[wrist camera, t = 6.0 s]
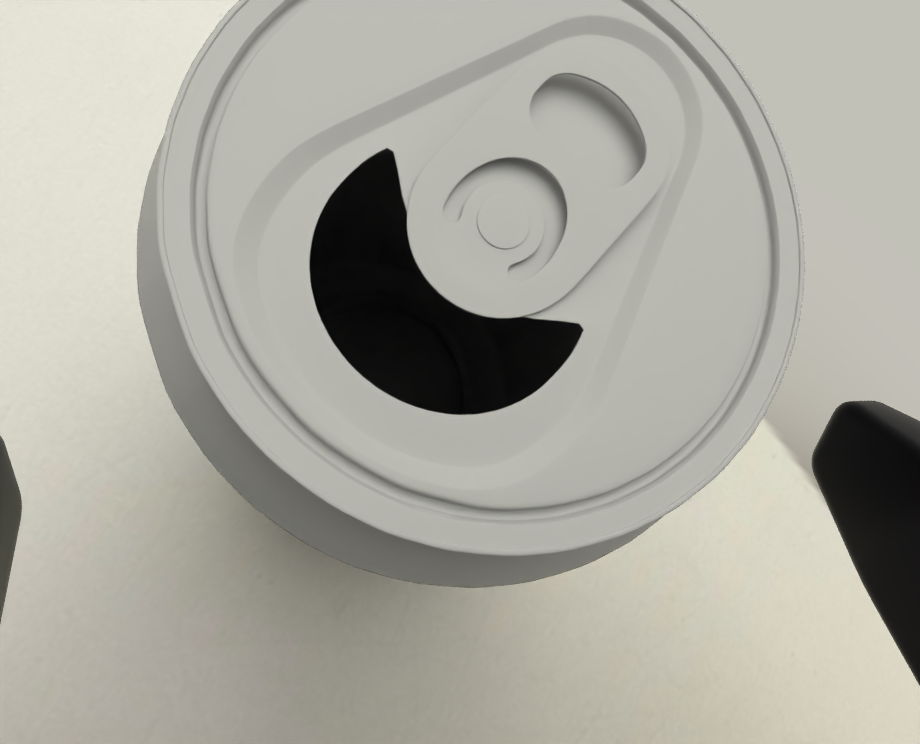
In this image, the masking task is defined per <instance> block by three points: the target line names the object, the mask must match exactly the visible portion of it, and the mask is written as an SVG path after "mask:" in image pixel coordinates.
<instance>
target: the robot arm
mask: <svg viewBox="0 0 920 744" xmlns="http://www.w3.org/2000/svg"><path fill="white" fill-rule="evenodd" d="M812 469H813V473H814V476H815V478H816V480H817V482H818V485H819V487H820V489H821V492H822V494H823V496H824V498H825V501H826V503H827V505H828V507H829V510H830V512H831V514H832V516H833V519H834V521H835V523H836V525H837V528H838V530H839V532H840V534H841V537H842V539H843V541H844V543H845V546H846V548H847V550H848V552H849V555H850V557H851V559H852V561H853V564H854V566H855V568H856V570H857V572H858V574H859V576H860V579H861V581H862V583H863V585H864V587H865V589H866V590H867V592H868V594H869V596H870V598H871V600H872V602H873V604H874V605H875V607H876V609H877V611H878V612H879V614H880V616H881V618H882V620H883V621H884V623H885V625H886V627H887V628H888V630H889V632H890V634H891V636H892V637H893V639H894V641H895V643H896V644H897V646H898V648H899V650H900V652H901V653H902V655H903V657H904V659H905V660H906V662H907V664H908V666H909V668H910V669H911V671H912V673H913V675H914V676H915V678H916V680H917V682H918V684H919V685H920V421H918V420H916V419H914V418H912V417H910V416H908V415H906V414H904V413H902V412H899V411H897V410H895V409H893V408H891V407H889V406H887V405H885V404H883V403H880V402H876V401H851V402H850V401H849V402H845V403H842V404H841V405H840V406H839V407H837V408H836V410H835V411H834V413H833V415H832V416H831V418H830V421H829V422H828V424H827V426H826V428H825V430H824V432H823V434H822V436H821V438H820V440H819V442H818V443H817V445H816V447H815V449H814V452H813V455H812ZM21 512H22V501H21V494H20V490H19V487H18V484H17V481H16V478H15V475H14V471H13V468H12V465H11V462H10V459H9V456H8V452H7V449H6V446H5V443H4V441H3V439H2V438H1V436H0V622H1V617H2V612H3V607H4V602H5V597H6V592H7V587H8V581H9V576H10V571H11V566H12V561H13V556H14V551H15V546H16V541H17V536H18V531H19V526H20V521H21Z"/></svg>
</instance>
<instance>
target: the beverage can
mask: <svg viewBox="0 0 920 744" xmlns="http://www.w3.org/2000/svg"><path fill="white" fill-rule="evenodd" d="M804 272H805V262H804V240H803V230H802V220H801V214H800V209H799V204H798V198H797V193H796V189H795V185H794V182H793V178H792V174H791V170H790V167H789V164H788V161H787V159H786V155H785V153H784V150H783V147H782V144H781V142H780V139H779V137H778V135H777V133H776V130H775V128H774V126H773V123H772V121H771V119H770V117H769V115H768V113H767V111H766V109H765V108H764V105H763V103H762V101H761V99H760V98H759V96H758V94H757V93H756V91H755V89H754V88H753V86H752V84H751V83H750V81H749V80H748V78H747V77H746V76H745V74H744V73H743V71H742V70H741V68H740V67H739V65H738V64H737V62H736V61H735V60H734V58H733V57H732V56H731V54H730V53H729V52H728V51H727V49H726V48H725V47H724V46H723V45H722V44H721V42H720V41H719V40H718V39H717V38H716V37H715V36H714V35H713V34H712V33H711V31H710V30H709V29H708V28H707V27H706V26H705V25H704V23H703V22H702V21H701V20H700V19H699V18H698V17H697V16H696V15H695V14H693V13H692V12H691V11H690V10H689V9H688V8H687V7H686V6H684V5H683V4H682V3H681V2H680V1H678V0H239V1H238V2H237V3H236V4H235V5H234V6H233V7H232V8H231V9H230V10H229V11H228V13H227V14H226V15H225V16H224V17H223V18H222V20H221V21H220V22H219V23H218V25H217V26H216V28H215V29H214V30H213V32H212V33H211V35H210V36H209V37H208V39H207V40H206V42H205V43H204V45H203V46H202V48H201V50H200V51H199V53H198V54H197V56H196V58H195V59H194V61H193V62H192V64H191V66H190V68H189V70H188V72H187V74H186V76H185V78H184V80H183V83H182V85H181V87H180V90H179V92H178V95H177V97H176V100H175V102H174V105H173V107H172V110H171V113H170V116H169V119H168V122H167V126H166V130H165V134H164V136H163V138H162V141H161V143H160V146H159V148H158V151H157V153H156V155H155V158H154V160H153V163H152V166H151V169H150V172H149V174H148V179H147V183H146V187H145V191H144V197H143V202H142V207H141V212H140V218H139V225H138V234H137V283H138V294H139V300H140V306H141V310H142V314H143V318H144V323H145V326H146V329H147V333H148V336H149V340H150V343H151V347H152V350H153V353H154V356H155V360H156V363H157V366H158V369H159V372H160V375H161V378H162V381H163V383H164V386H165V389H166V392H167V394H168V396H169V398H170V400H171V402H172V404H173V406H174V408H175V410H176V411H177V413H178V415H179V416H180V418H181V420H182V421H183V423H184V425H185V426H186V428H187V429H188V431H189V433H190V434H191V436H192V437H193V439H194V440H195V442H196V443H197V444H198V446H199V447H200V449H201V450H202V452H203V453H204V455H205V456H206V457H207V458H208V460H209V461H210V462H211V463H212V465H213V466H214V467H215V468H216V469H217V471H218V472H219V473H220V474H221V475H222V476H223V477H224V478H225V479H226V480H227V481H228V482H229V483H230V484H231V485H232V486H233V488H234V489H235V490H236V491H237V492H238V493H239V494H240V495H241V496H243V497H244V498H245V499H246V500H247V501H248V502H249V503H250V504H251V505H252V506H254V507H255V508H256V509H257V510H259V511H260V512H261V513H263V514H264V515H265V516H267V517H268V518H269V519H270V520H272V521H273V522H274V523H276V524H277V525H279V526H280V527H282V528H283V529H284V530H286V531H287V532H289V533H290V534H292V535H293V536H295V537H296V538H298V539H299V540H301V541H303V542H304V543H306V544H308V545H310V546H311V547H313V548H315V549H317V550H319V551H321V552H323V553H326V554H328V555H330V556H332V557H334V558H336V559H338V560H340V561H342V562H345V563H347V564H349V565H352V566H354V567H357V568H360V569H363V570H366V571H369V572H373V573H376V574H380V575H384V576H387V577H391V578H395V579H398V580H403V581H408V582H413V583H419V584H428V585H437V586H449V587H466V588H476V587H493V586H503V585H512V584H519V583H524V582H530V581H535V580H538V579H542V578H546V577H550V576H553V575H557V574H560V573H563V572H566V571H569V570H572V569H575V568H578V567H581V566H583V565H586V564H588V563H590V562H593V561H595V560H597V559H599V558H601V557H603V556H605V555H607V554H608V553H610V552H612V551H614V550H616V549H618V548H620V547H622V546H623V545H625V544H627V543H629V542H630V541H632V540H633V539H634V538H636V537H637V536H639V535H640V534H641V533H643V532H644V531H645V530H647V529H648V528H649V527H650V526H652V525H653V524H654V523H655V522H657V521H658V520H659V519H661V518H662V517H663V516H664V515H666V514H667V513H669V512H671V511H673V510H674V509H676V508H677V507H679V506H680V505H681V504H683V503H684V502H686V501H687V500H688V499H689V498H691V497H692V496H693V495H694V494H696V493H697V492H698V491H700V490H701V489H702V488H703V487H705V486H706V485H707V484H708V483H709V482H711V481H712V480H713V479H714V478H715V477H716V476H717V475H718V474H719V473H720V472H721V471H722V470H723V469H724V468H725V467H726V466H727V465H728V464H729V462H730V461H731V460H732V459H733V458H734V457H735V456H736V454H737V453H738V452H739V451H740V450H741V449H742V447H743V446H744V445H745V444H746V443H747V442H748V440H749V439H750V437H751V436H752V434H753V433H754V431H755V430H756V428H757V427H758V425H759V423H760V422H761V420H762V418H763V417H764V415H765V413H766V411H767V409H768V407H769V406H770V404H771V402H772V400H773V398H774V396H775V394H776V392H777V390H778V388H779V385H780V383H781V380H782V378H783V376H784V373H785V371H786V368H787V365H788V362H789V359H790V356H791V353H792V350H793V346H794V343H795V339H796V334H797V329H798V325H799V321H800V315H801V307H802V299H803V291H804Z"/></svg>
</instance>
